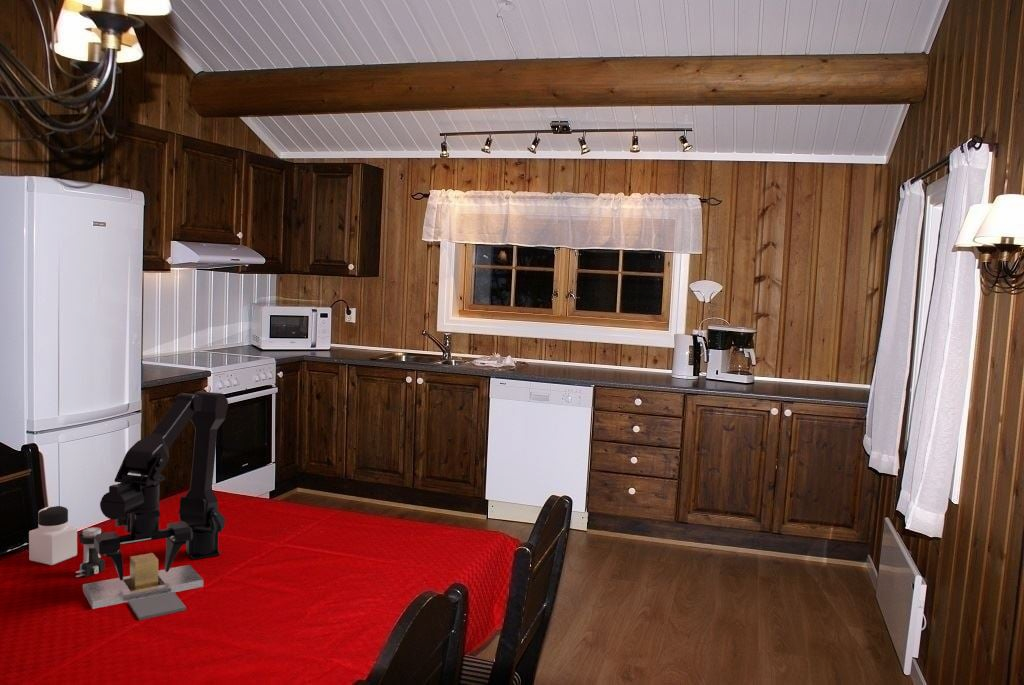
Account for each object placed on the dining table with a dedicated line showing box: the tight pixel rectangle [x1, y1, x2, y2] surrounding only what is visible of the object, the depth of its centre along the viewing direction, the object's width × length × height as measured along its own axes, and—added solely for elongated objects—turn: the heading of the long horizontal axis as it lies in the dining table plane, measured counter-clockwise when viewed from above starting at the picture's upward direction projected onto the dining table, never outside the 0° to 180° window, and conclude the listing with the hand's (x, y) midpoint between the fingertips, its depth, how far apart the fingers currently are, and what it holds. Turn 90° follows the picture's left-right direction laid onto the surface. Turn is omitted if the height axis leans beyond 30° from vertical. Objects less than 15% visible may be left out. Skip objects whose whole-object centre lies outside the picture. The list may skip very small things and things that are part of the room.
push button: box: [75, 526, 106, 578], centre depth 182 cm, size 7×5×10 cm
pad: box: [127, 592, 187, 621], centre depth 168 cm, size 9×9×1 cm
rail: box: [82, 564, 204, 610], centre depth 176 cm, size 22×10×2 cm, turn 128°
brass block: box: [129, 552, 159, 591], centre depth 175 cm, size 5×5×7 cm
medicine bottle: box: [28, 505, 78, 566], centre depth 189 cm, size 7×7×12 cm
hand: (144, 575), depth 176 cm, fingers open, 9 cm apart
